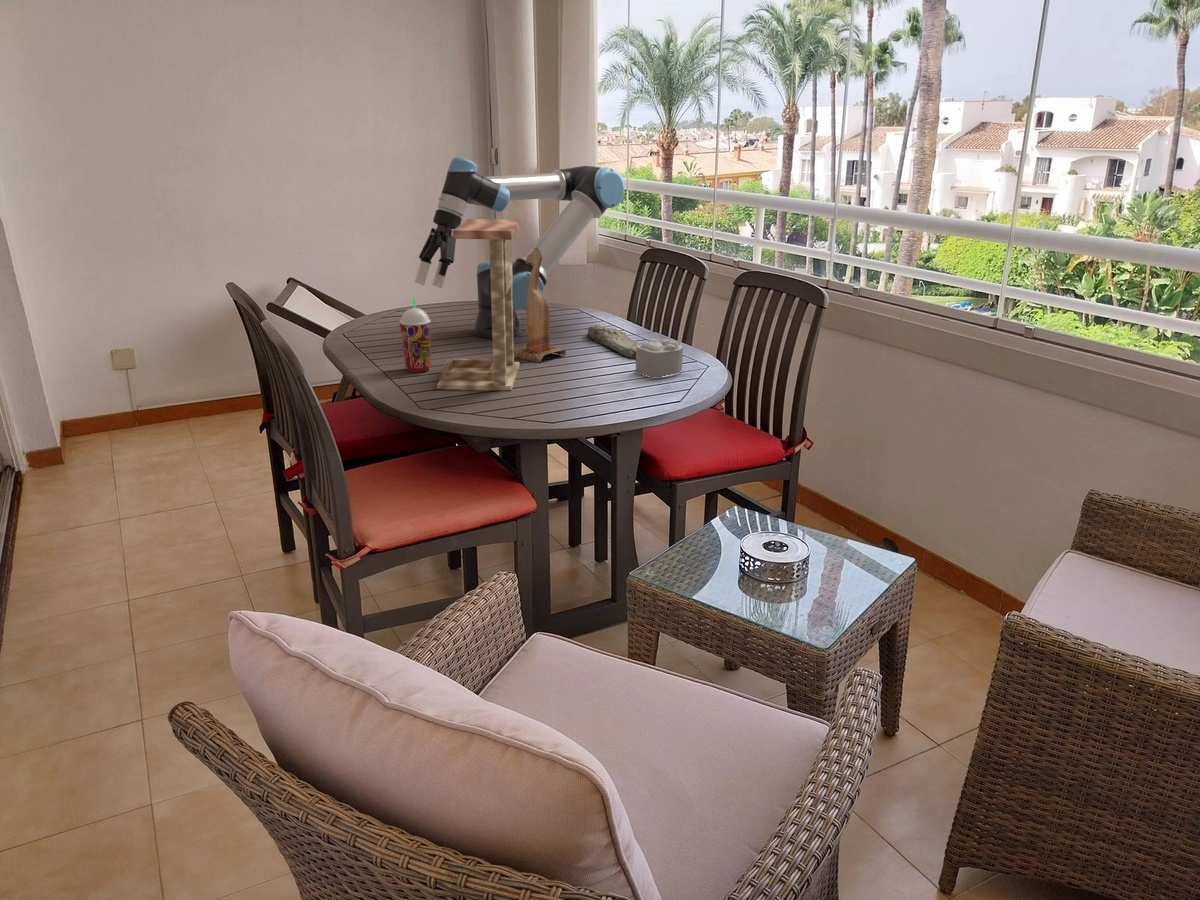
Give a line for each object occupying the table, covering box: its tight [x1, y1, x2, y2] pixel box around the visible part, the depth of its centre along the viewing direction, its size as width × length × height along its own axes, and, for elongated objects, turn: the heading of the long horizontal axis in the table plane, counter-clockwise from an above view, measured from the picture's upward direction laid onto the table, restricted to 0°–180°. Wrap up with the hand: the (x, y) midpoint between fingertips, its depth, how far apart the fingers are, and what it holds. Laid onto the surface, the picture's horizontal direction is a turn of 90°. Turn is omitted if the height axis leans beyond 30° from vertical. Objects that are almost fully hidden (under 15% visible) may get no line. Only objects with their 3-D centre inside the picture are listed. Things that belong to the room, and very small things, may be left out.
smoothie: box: [398, 297, 432, 373], centre depth 236 cm, size 8×8×20 cm
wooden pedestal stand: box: [436, 218, 522, 391], centre depth 226 cm, size 20×26×40 cm
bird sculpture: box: [514, 246, 567, 363], centre depth 249 cm, size 11×12×32 cm
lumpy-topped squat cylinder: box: [635, 338, 684, 377], centre depth 240 cm, size 10×13×9 cm
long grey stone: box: [587, 324, 641, 359], centre depth 268 cm, size 35×5×10 cm
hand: (427, 285), depth 247 cm, fingers open, 13 cm apart
